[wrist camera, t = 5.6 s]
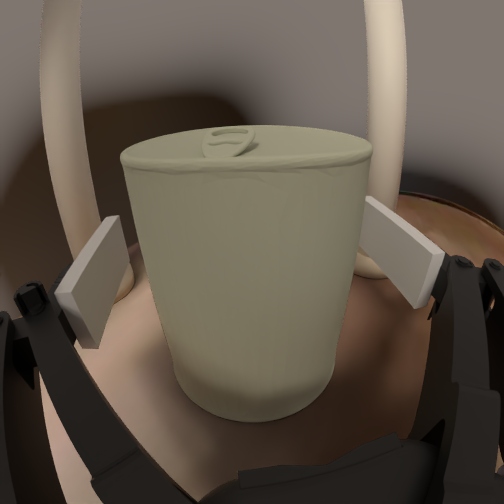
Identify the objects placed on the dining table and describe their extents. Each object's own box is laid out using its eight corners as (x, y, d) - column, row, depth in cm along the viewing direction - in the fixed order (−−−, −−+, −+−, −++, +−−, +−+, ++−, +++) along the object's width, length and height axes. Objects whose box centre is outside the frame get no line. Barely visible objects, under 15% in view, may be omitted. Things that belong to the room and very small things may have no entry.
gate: (60, 310, 18) (21, -41, 4) (83, 269, 23) (53, -22, 9) (413, 273, 22) (424, -50, 7) (380, 241, 27) (385, -32, 13)
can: (151, 407, 12) (58, 159, 6) (197, 297, 20) (175, 121, 14) (339, 426, 11) (424, 150, 5) (328, 304, 19) (347, 120, 13)
